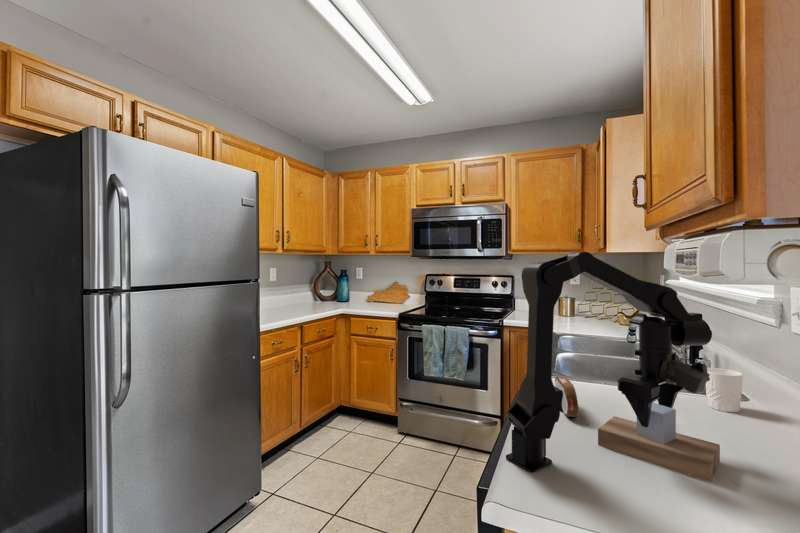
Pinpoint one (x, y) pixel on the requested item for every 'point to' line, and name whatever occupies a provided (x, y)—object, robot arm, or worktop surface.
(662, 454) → the walnut block
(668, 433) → the gray block
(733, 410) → the white cup
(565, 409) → the tin
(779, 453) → the worktop surface
